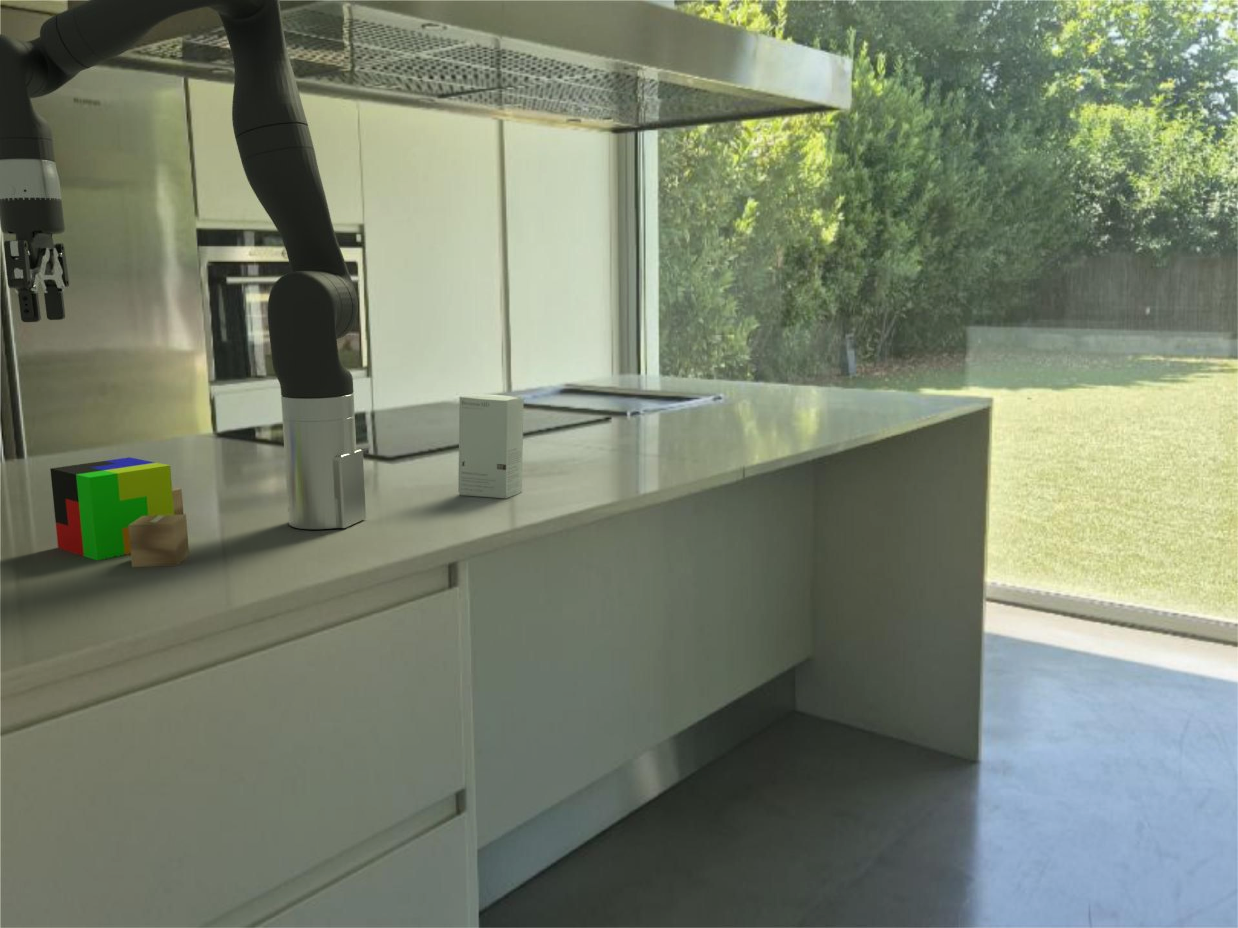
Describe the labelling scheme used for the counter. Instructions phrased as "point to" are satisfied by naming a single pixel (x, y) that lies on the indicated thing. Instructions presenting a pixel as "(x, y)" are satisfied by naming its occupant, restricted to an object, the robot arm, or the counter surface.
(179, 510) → the two bar block
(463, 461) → the skincare box
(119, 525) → the puzzle toy
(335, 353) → the robot arm
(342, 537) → the counter surface
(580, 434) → the counter surface
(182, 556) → the one bar block
